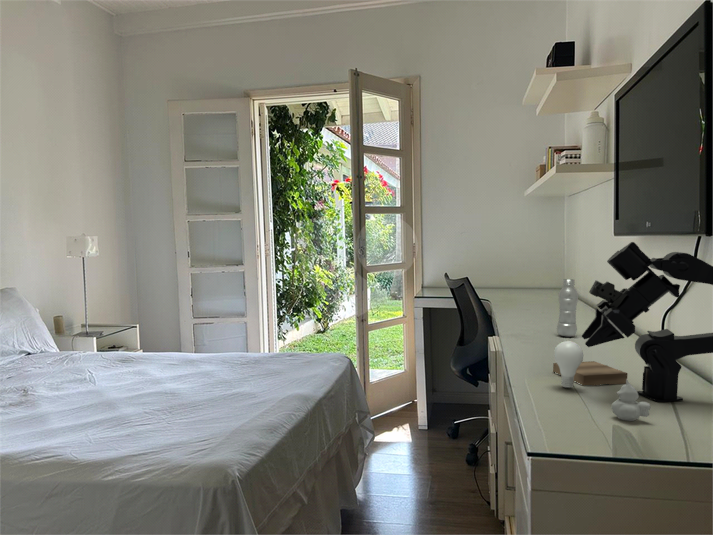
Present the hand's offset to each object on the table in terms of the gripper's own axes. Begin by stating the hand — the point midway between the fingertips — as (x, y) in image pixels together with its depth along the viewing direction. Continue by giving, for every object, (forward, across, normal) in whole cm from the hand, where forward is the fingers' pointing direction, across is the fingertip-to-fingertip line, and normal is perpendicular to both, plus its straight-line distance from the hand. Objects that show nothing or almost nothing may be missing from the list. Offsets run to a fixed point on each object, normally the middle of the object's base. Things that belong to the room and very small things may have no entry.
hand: (584, 341), depth 121 cm
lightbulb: (+10, 0, +6) cm, 12 cm away
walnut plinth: (+6, -12, +10) cm, 16 cm away
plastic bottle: (+8, -68, +8) cm, 69 cm away
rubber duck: (+3, +18, +13) cm, 23 cm away
